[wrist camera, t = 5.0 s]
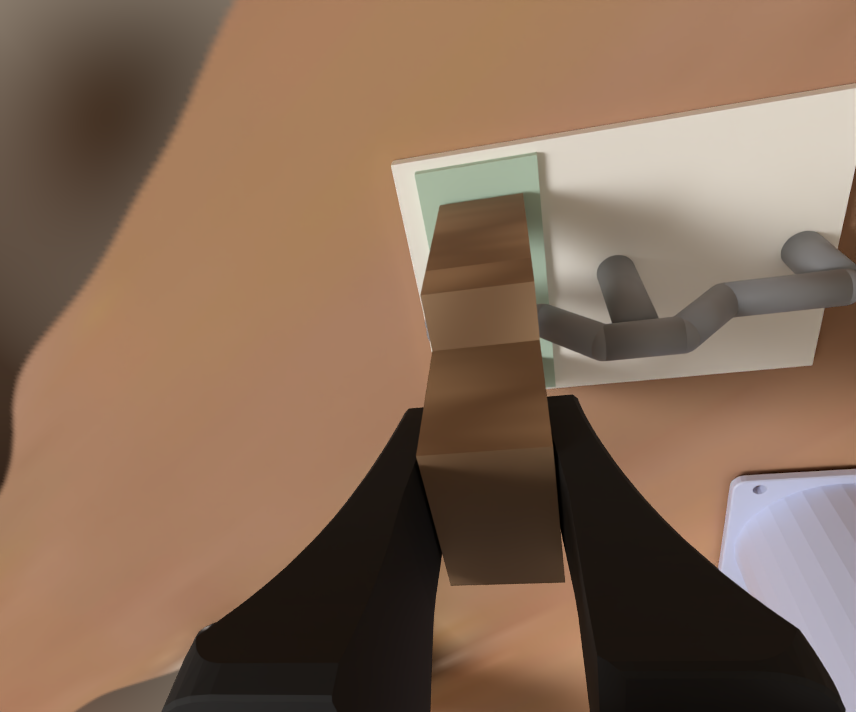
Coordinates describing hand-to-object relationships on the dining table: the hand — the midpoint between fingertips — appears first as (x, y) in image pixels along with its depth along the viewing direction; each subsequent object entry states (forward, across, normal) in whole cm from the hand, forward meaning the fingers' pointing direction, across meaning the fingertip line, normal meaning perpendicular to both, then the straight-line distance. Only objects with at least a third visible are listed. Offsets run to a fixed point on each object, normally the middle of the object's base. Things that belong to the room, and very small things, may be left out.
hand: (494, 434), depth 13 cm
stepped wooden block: (+7, 0, 0) cm, 7 cm away
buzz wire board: (+8, -4, 0) cm, 9 cm away
